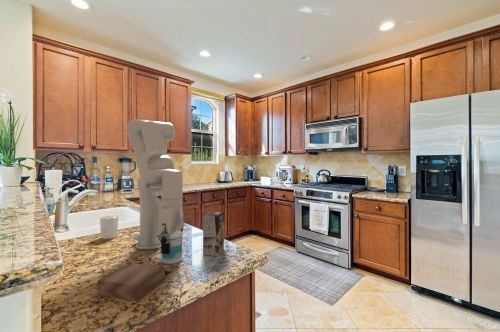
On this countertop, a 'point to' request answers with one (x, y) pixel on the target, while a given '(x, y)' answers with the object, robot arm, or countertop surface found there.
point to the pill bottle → (173, 248)
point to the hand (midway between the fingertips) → (171, 249)
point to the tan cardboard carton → (132, 281)
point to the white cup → (109, 226)
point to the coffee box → (213, 233)
